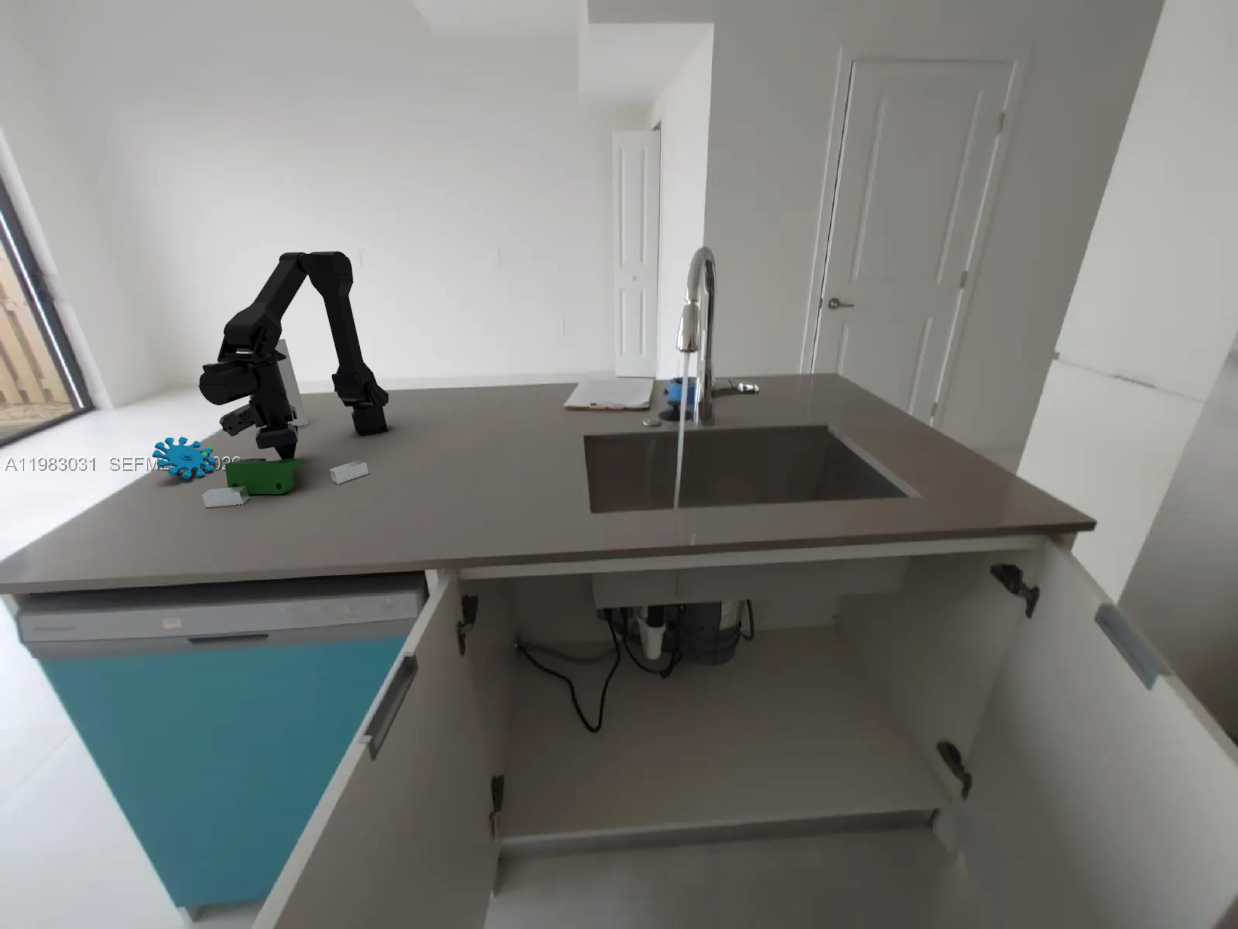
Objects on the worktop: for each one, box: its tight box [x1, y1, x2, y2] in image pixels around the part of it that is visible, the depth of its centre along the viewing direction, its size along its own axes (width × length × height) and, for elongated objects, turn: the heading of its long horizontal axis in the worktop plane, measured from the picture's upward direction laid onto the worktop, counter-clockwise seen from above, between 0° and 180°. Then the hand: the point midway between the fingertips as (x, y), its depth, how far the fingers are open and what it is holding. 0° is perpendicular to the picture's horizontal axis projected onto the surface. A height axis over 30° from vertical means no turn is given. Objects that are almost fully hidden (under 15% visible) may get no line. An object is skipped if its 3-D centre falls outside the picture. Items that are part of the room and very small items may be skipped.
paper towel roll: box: [275, 338, 309, 428], centre depth 130 cm, size 7×6×21 cm
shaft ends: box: [201, 459, 369, 508], centre depth 101 cm, size 26×4×2 cm, turn 119°
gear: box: [151, 436, 216, 480], centre depth 109 cm, size 11×6×10 cm
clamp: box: [224, 457, 303, 495], centre depth 102 cm, size 12×6×9 cm, turn 81°
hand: (289, 466), depth 108 cm, fingers closed
